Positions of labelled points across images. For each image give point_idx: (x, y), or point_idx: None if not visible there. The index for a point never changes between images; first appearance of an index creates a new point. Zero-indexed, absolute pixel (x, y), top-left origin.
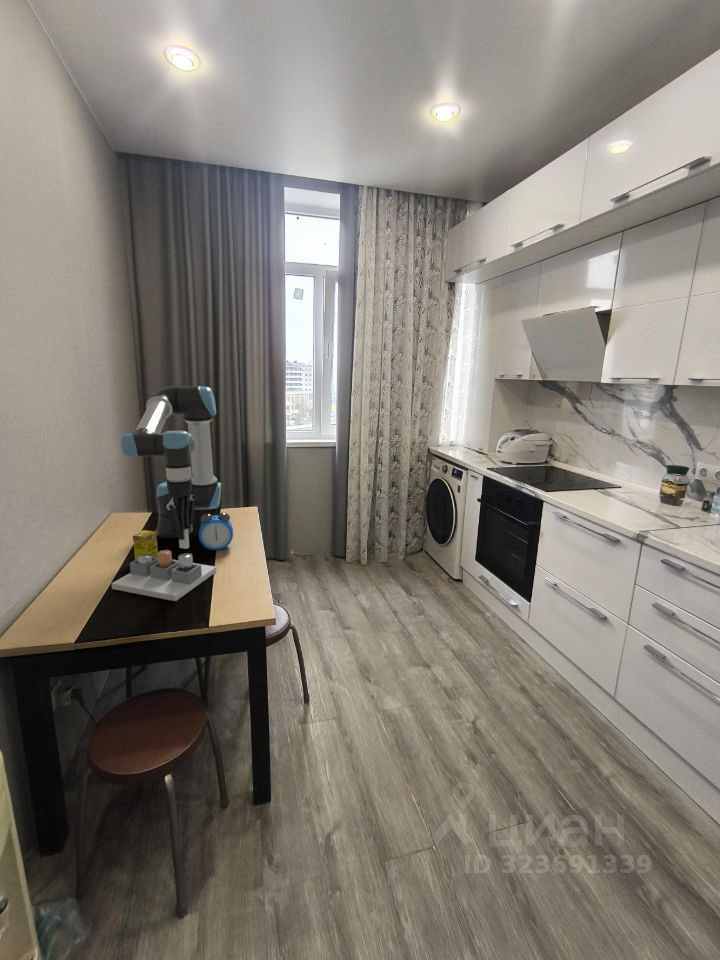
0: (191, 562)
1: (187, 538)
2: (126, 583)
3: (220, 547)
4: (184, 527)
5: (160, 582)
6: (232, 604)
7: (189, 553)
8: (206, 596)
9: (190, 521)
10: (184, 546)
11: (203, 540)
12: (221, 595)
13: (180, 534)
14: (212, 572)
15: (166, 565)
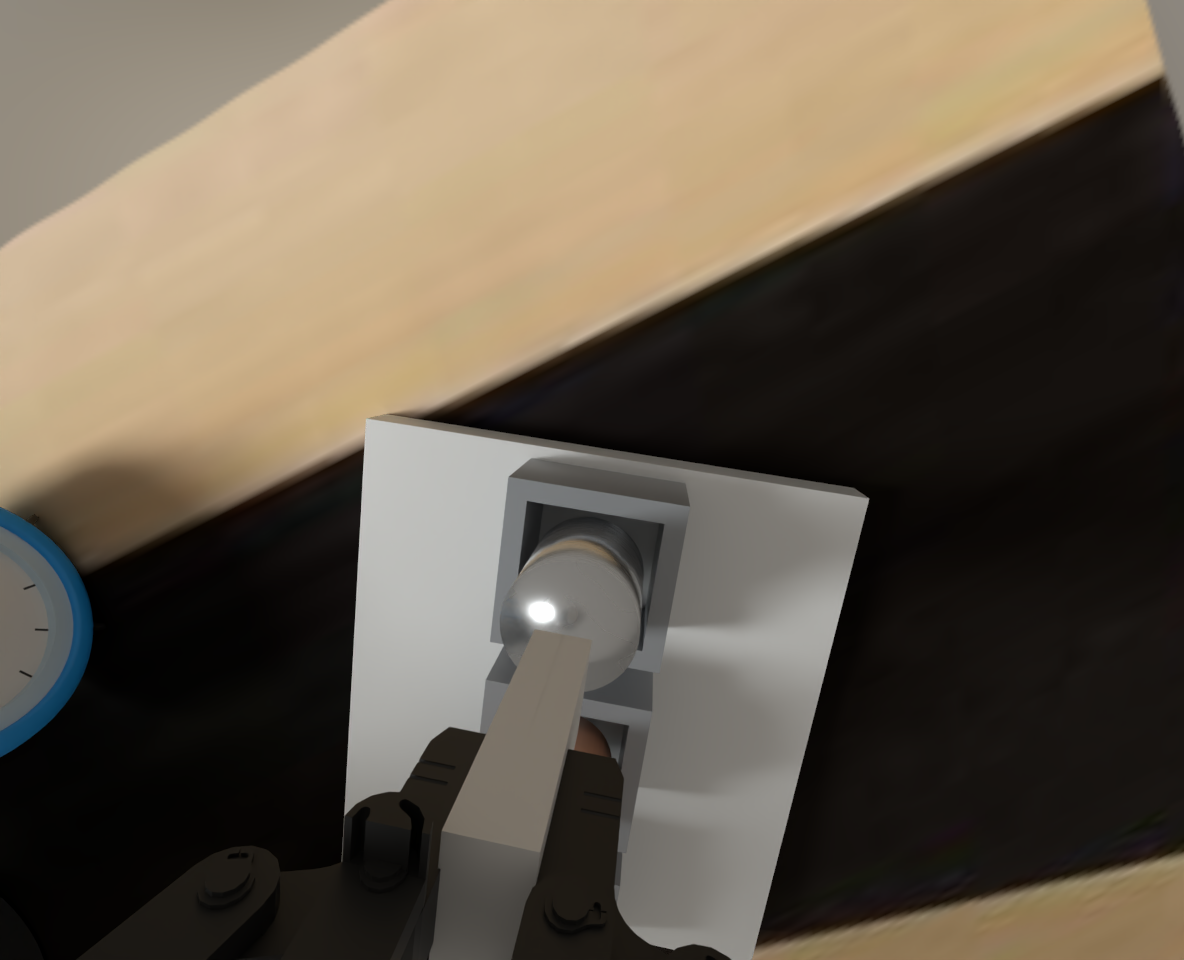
0: (583, 540)
1: (529, 711)
2: (738, 886)
3: (44, 552)
4: (525, 924)
5: (690, 692)
6: (856, 28)
7: (500, 615)
8: (758, 304)
9: (226, 947)
10: (584, 680)
11: (38, 695)
12: (727, 194)
13: (614, 858)
14: (427, 423)
15: (596, 744)
